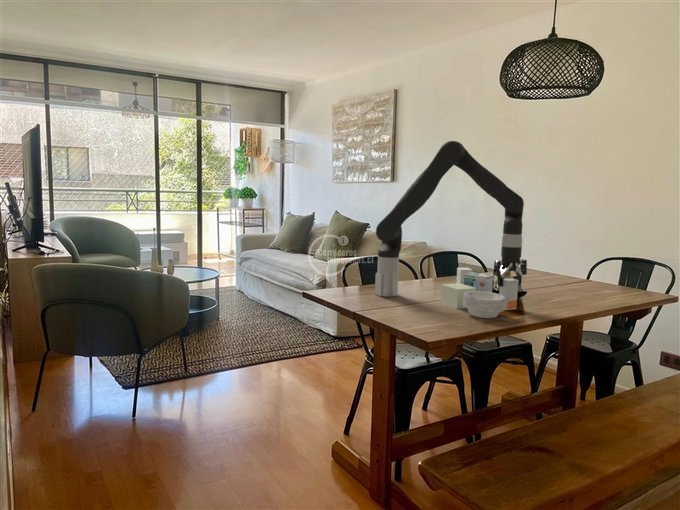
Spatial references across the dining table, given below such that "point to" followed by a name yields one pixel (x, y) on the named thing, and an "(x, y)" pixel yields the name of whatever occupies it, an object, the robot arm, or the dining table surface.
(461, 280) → the small box
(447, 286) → the sage block
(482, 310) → the paper bowls
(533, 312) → the dining table surface
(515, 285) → the skincare box
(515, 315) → the dining table surface
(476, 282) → the light bulb box
